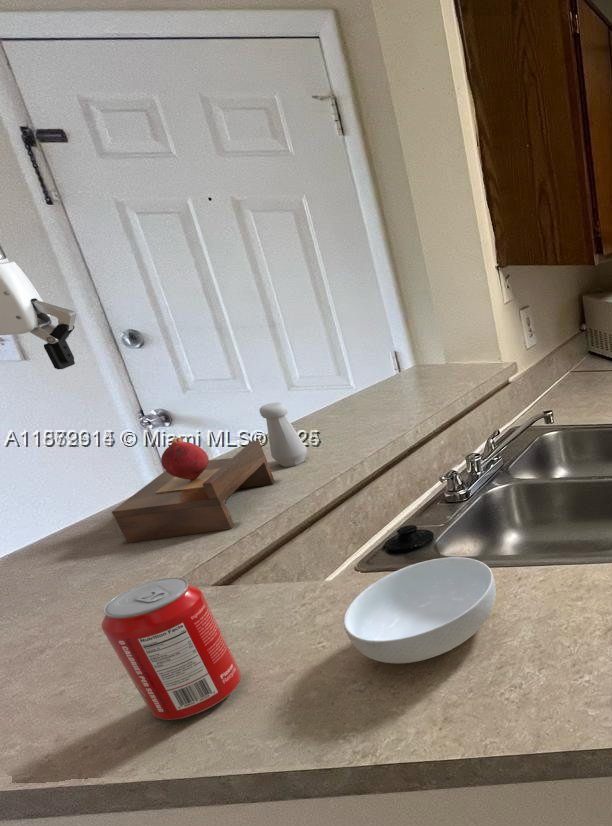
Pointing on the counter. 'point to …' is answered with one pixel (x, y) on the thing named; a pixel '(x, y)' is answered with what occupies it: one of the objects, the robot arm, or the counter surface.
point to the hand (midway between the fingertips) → (24, 369)
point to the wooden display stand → (192, 498)
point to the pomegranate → (184, 459)
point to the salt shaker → (283, 436)
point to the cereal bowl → (421, 610)
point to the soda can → (171, 647)
